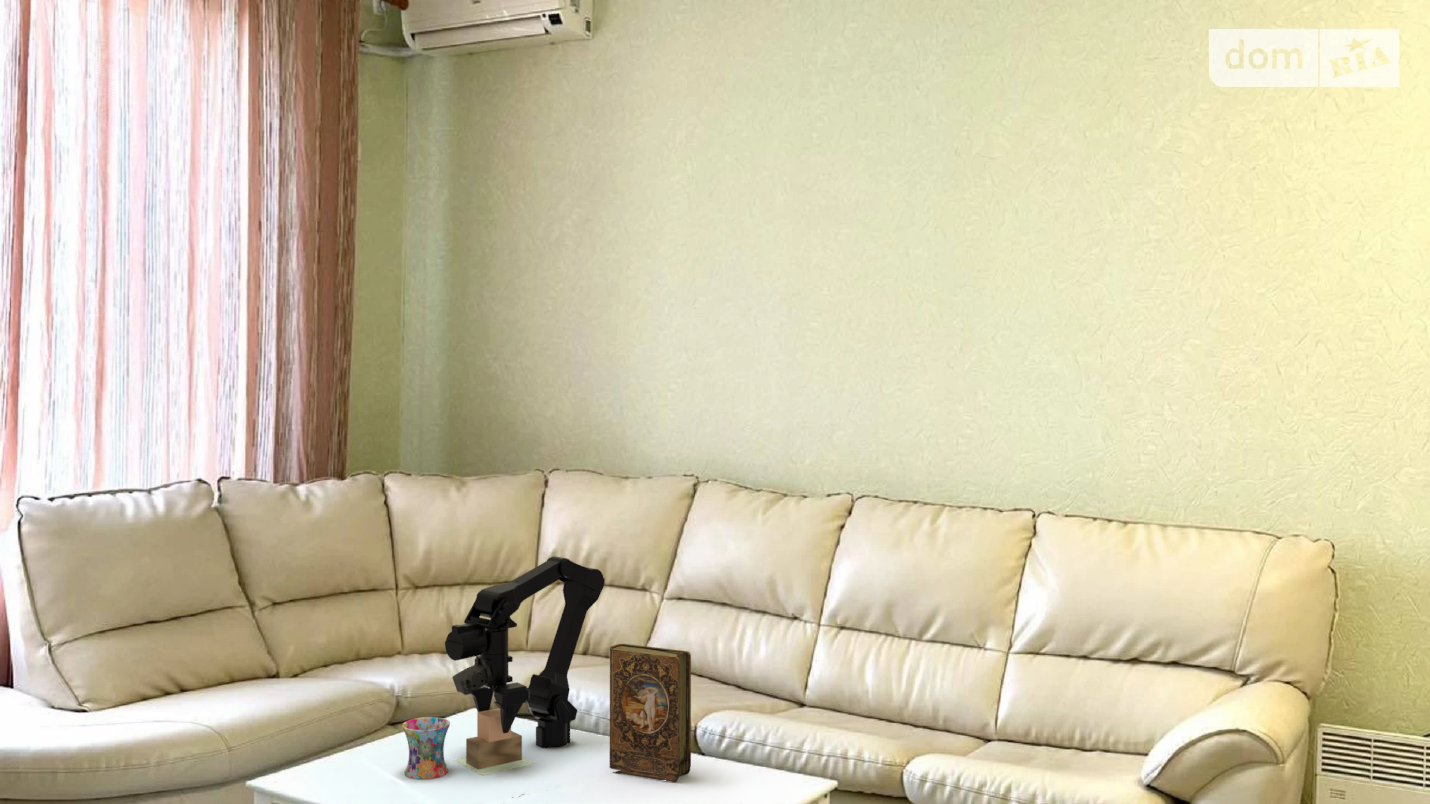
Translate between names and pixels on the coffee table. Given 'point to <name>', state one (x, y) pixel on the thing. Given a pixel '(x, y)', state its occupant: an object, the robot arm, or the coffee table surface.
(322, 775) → the coffee table surface
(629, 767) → the book
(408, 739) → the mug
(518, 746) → the walnut brick
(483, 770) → the baseplate
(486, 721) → the cube
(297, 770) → the coffee table surface
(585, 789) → the coffee table surface
